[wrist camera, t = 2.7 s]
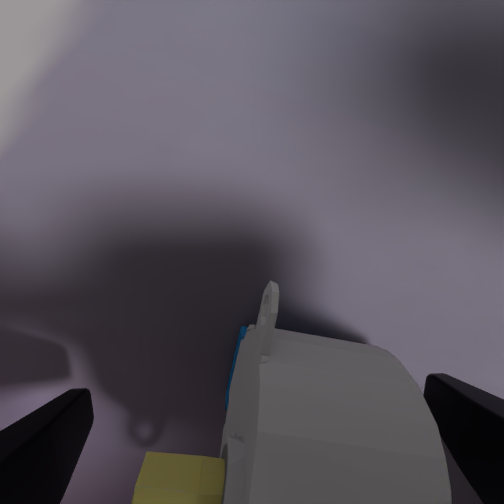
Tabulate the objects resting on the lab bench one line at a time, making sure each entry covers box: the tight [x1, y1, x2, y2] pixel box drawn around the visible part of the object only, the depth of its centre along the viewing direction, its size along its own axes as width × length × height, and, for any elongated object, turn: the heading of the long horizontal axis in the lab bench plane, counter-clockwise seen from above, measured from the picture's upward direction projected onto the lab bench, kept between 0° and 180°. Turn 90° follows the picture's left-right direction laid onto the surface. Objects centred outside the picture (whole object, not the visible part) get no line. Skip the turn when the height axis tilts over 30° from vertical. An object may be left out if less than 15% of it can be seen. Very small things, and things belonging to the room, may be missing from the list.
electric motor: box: [131, 280, 452, 504], centre depth 6 cm, size 7×5×5 cm
